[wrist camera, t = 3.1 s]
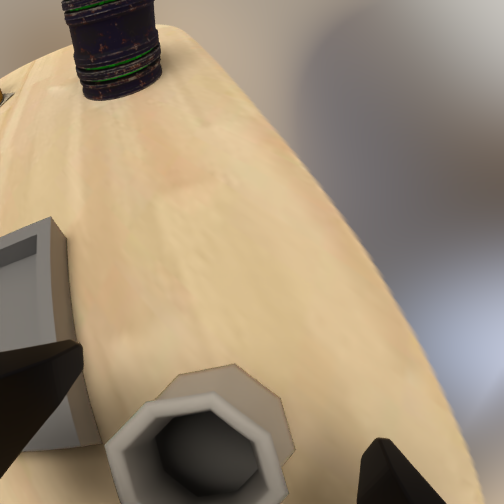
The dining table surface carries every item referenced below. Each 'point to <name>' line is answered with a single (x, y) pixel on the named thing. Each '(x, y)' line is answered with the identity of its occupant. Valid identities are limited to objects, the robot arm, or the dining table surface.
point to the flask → (204, 443)
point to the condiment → (4, 97)
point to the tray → (43, 322)
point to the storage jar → (113, 46)
